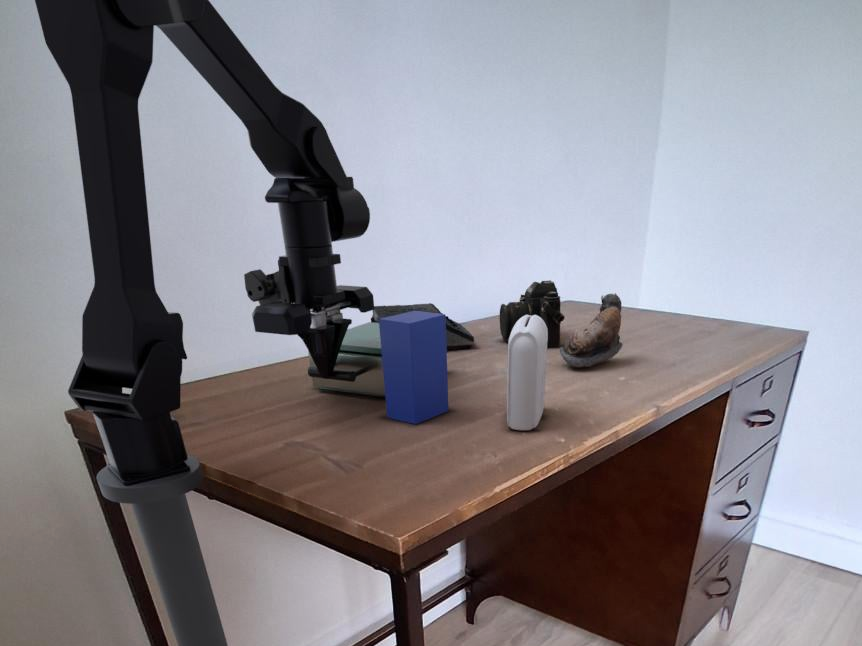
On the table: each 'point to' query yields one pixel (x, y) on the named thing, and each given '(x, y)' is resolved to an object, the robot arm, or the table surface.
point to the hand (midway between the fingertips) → (326, 378)
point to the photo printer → (526, 372)
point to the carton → (414, 365)
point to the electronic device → (454, 331)
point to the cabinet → (361, 345)
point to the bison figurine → (596, 336)
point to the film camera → (535, 310)
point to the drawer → (352, 373)
